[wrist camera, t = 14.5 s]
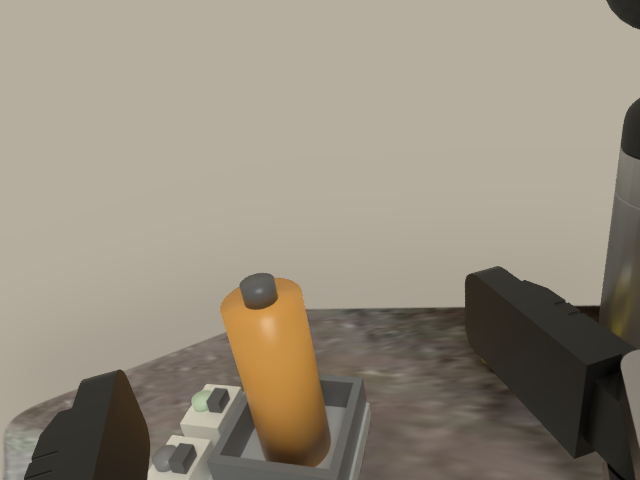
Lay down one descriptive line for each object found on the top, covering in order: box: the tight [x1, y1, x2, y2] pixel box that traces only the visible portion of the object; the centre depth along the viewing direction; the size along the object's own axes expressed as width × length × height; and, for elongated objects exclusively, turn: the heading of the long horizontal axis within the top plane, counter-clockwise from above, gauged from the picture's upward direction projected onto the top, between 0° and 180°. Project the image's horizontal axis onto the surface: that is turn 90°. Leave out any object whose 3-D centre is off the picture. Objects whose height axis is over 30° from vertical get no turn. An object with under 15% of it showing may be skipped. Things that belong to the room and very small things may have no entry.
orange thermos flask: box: [220, 273, 331, 467], centre depth 29 cm, size 5×5×13 cm
